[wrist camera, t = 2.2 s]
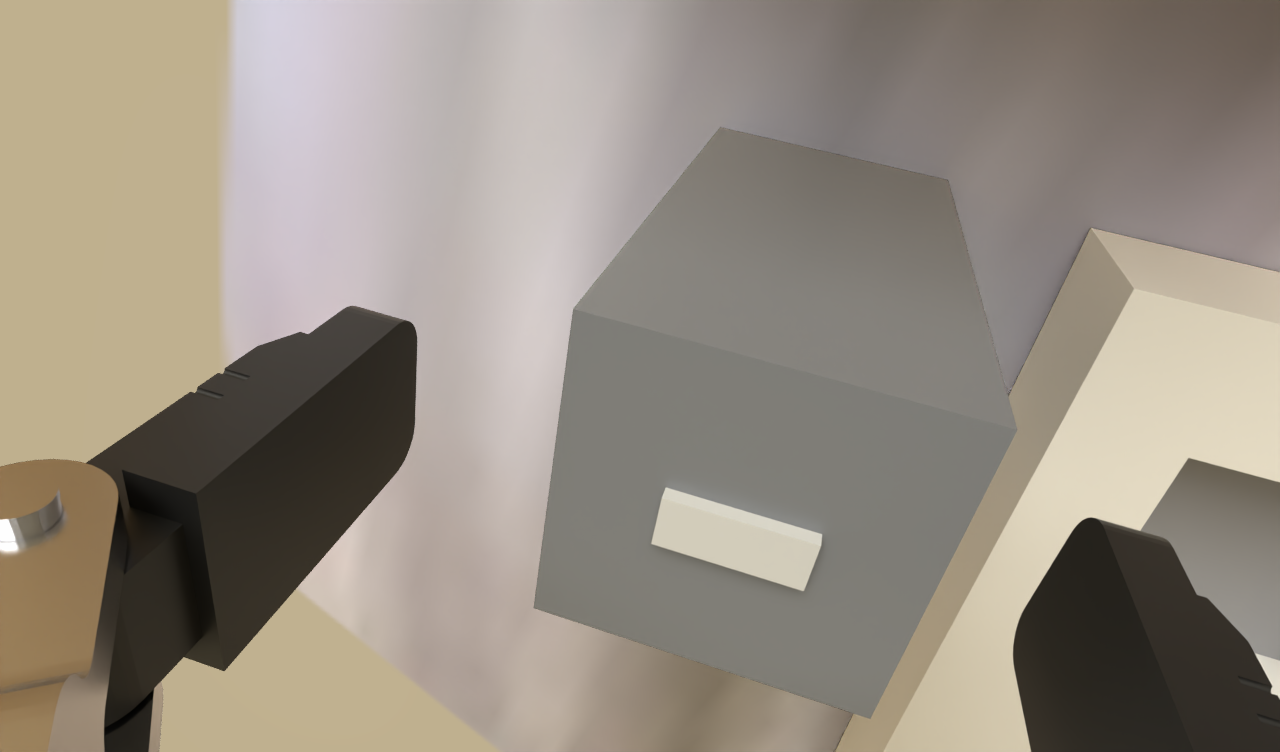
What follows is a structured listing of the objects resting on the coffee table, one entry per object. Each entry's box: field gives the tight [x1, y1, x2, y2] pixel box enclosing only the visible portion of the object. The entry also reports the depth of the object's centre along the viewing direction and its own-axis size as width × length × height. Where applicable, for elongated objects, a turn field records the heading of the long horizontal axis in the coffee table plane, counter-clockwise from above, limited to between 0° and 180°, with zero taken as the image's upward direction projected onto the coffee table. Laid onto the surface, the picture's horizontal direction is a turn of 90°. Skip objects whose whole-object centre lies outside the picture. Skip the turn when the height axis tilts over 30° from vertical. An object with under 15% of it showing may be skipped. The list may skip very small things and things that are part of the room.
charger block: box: [534, 127, 1017, 719], centre depth 13 cm, size 4×4×9 cm
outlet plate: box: [835, 228, 1280, 752], centre depth 18 cm, size 10×20×3 cm, turn 171°
